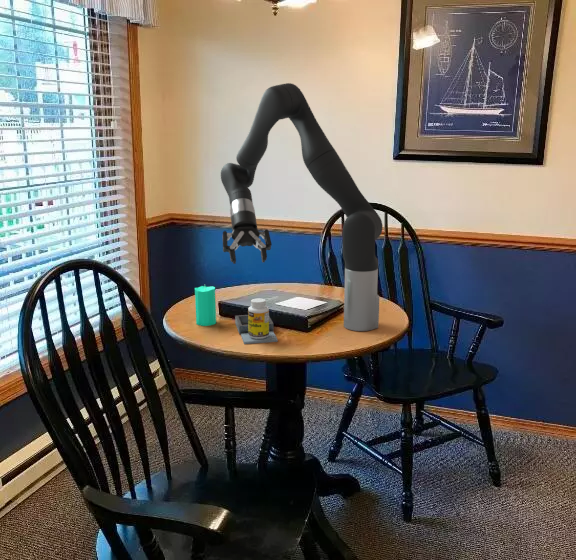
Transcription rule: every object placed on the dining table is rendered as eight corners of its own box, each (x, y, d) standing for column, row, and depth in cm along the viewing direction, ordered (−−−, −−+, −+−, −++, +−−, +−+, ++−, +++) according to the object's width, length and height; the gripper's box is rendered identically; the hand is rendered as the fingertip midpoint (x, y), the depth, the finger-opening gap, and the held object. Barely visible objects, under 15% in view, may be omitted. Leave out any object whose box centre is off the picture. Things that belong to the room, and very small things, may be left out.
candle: (220, 321, 175) (219, 282, 172) (206, 327, 170) (205, 286, 167) (205, 318, 178) (204, 279, 175) (191, 323, 174) (189, 283, 171)
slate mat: (273, 333, 165) (273, 331, 164) (277, 341, 158) (277, 339, 158) (241, 335, 163) (241, 333, 163) (244, 344, 157) (244, 341, 156)
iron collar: (267, 321, 175) (267, 313, 174) (273, 332, 166) (273, 323, 165) (235, 323, 173) (235, 315, 172) (239, 334, 164) (239, 325, 163)
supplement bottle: (244, 337, 160) (243, 301, 157) (255, 331, 164) (255, 296, 162) (262, 341, 157) (261, 304, 154) (272, 335, 162) (272, 299, 159)
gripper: (220, 210, 176) (225, 255, 167) (267, 208, 178) (275, 253, 170) (219, 225, 182) (224, 269, 174) (264, 223, 185) (272, 267, 177)
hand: (249, 261), depth 172 cm, fingers open, 8 cm apart
